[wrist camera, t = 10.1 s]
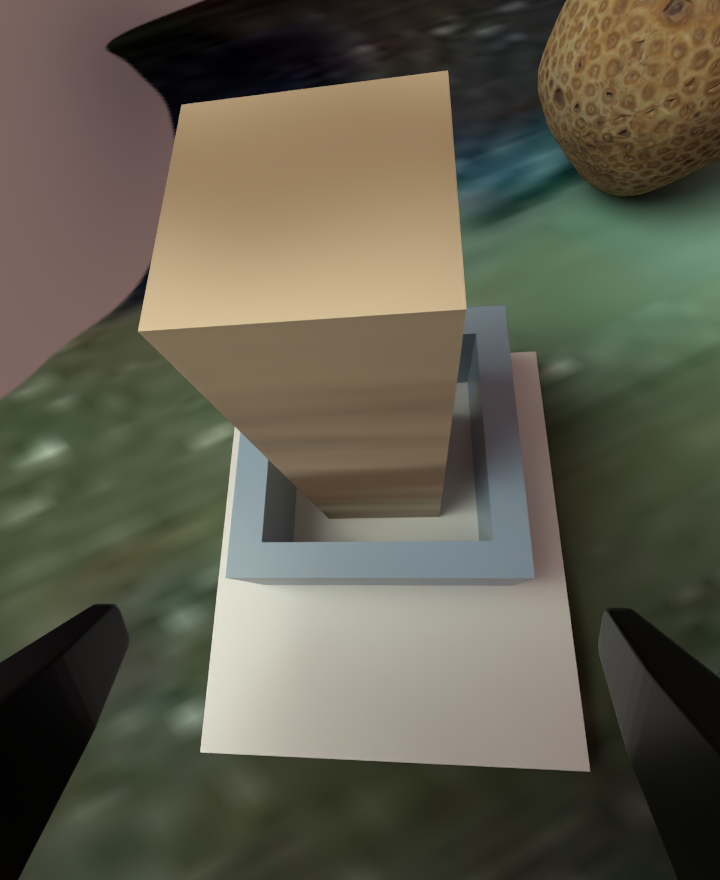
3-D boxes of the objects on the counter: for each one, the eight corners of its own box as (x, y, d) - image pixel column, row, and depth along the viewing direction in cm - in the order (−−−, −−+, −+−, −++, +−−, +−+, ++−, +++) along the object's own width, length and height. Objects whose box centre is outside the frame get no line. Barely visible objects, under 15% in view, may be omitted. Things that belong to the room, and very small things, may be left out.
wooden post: (439, 517, 17) (467, 308, 5) (328, 518, 18) (137, 331, 6) (434, 413, 18) (447, 70, 7) (332, 417, 19) (181, 105, 7)
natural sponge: (483, 143, 24) (519, -152, 15) (649, 81, 24) (790, -253, 15) (570, 279, 21) (687, 9, 12) (763, 207, 21) (1035, -120, 12)
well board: (580, 762, 15) (639, 819, 11) (212, 744, 16) (140, 788, 12) (530, 363, 20) (558, 296, 16) (249, 378, 21) (205, 320, 17)
